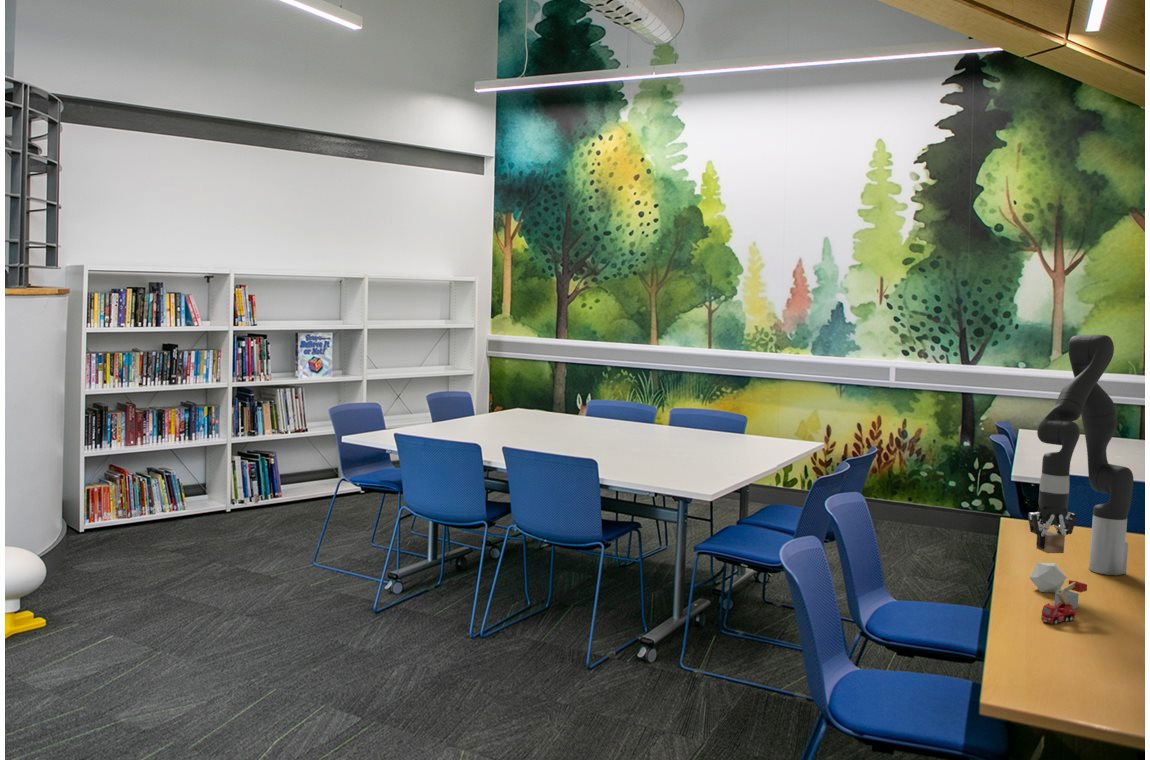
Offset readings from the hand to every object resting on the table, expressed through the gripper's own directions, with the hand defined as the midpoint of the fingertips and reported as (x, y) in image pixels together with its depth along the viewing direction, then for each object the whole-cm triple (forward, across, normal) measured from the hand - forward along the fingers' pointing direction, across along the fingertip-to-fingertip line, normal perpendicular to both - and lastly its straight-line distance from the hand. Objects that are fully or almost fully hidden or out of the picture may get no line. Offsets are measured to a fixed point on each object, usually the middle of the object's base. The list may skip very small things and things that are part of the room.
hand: (1049, 548), depth 268 cm
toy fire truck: (+13, +12, +24) cm, 30 cm away
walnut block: (+1, 0, 0) cm, 1 cm away
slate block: (+12, +4, +14) cm, 19 cm away
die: (+12, 0, 0) cm, 12 cm away
